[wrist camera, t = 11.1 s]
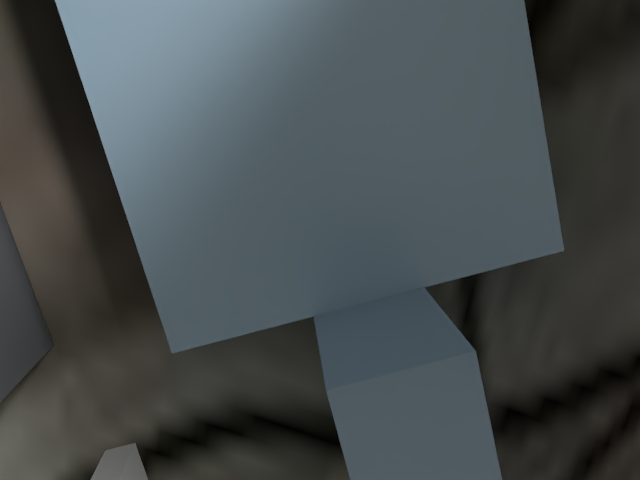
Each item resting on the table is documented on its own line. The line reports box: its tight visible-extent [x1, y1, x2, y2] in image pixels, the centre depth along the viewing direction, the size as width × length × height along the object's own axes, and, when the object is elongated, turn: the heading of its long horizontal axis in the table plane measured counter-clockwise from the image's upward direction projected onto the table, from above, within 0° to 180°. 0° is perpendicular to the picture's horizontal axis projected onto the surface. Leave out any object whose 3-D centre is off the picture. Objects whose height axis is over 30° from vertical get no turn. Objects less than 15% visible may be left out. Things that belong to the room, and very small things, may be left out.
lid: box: [55, 0, 564, 480], centre depth 14 cm, size 20×11×6 cm, turn 14°
